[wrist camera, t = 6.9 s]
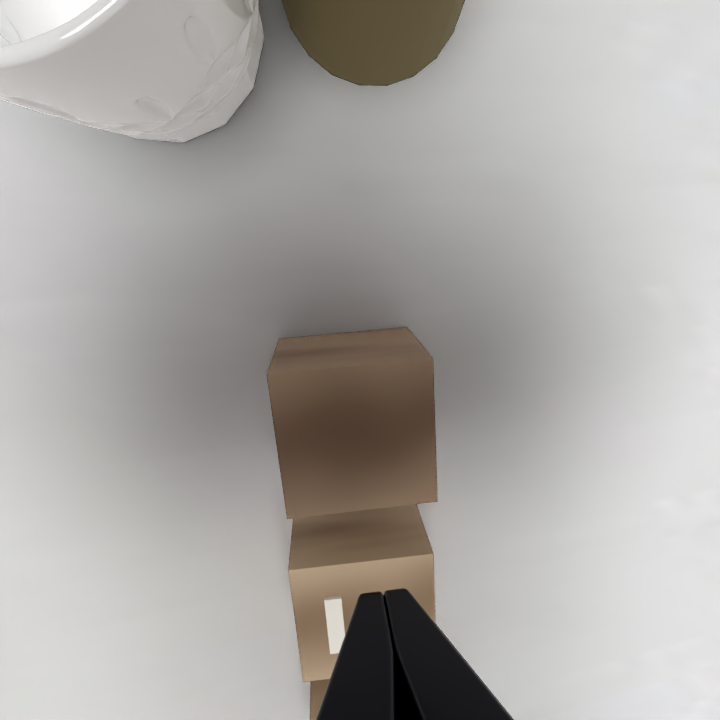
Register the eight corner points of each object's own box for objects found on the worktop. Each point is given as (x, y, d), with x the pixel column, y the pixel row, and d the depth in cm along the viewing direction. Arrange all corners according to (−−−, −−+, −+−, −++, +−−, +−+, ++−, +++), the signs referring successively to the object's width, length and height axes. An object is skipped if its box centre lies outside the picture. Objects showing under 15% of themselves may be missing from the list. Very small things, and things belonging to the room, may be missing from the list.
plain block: (411, 440, 20) (437, 501, 15) (294, 453, 19) (286, 519, 15) (406, 326, 18) (433, 358, 14) (279, 338, 18) (266, 374, 14)
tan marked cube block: (416, 577, 22) (441, 667, 17) (306, 590, 21) (303, 685, 17) (412, 483, 20) (438, 555, 16) (295, 496, 20) (288, 573, 16)
